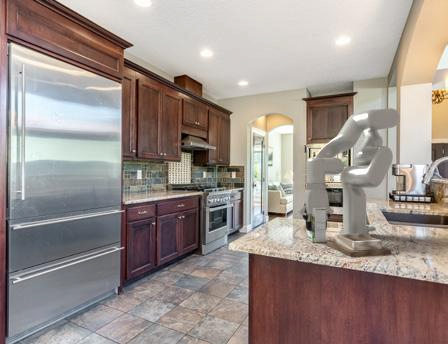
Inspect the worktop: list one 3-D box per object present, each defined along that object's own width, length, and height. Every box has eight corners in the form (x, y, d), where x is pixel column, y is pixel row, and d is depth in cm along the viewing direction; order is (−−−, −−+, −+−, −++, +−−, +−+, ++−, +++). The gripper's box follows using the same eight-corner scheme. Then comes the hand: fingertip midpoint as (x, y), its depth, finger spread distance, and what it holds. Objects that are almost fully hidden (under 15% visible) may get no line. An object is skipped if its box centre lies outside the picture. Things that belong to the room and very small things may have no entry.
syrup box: (307, 238, 113) (306, 205, 113) (320, 238, 114) (319, 205, 113) (312, 242, 107) (312, 207, 107) (326, 242, 108) (326, 206, 108)
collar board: (363, 243, 106) (363, 232, 106) (391, 254, 93) (391, 241, 93) (327, 245, 104) (327, 234, 104) (350, 256, 90) (350, 243, 90)
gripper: (329, 186, 115) (329, 226, 116) (292, 187, 112) (293, 229, 113) (339, 187, 108) (340, 230, 108) (300, 188, 105) (301, 233, 105)
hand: (316, 229), depth 110 cm, fingers closed on syrup box, 6 cm apart
